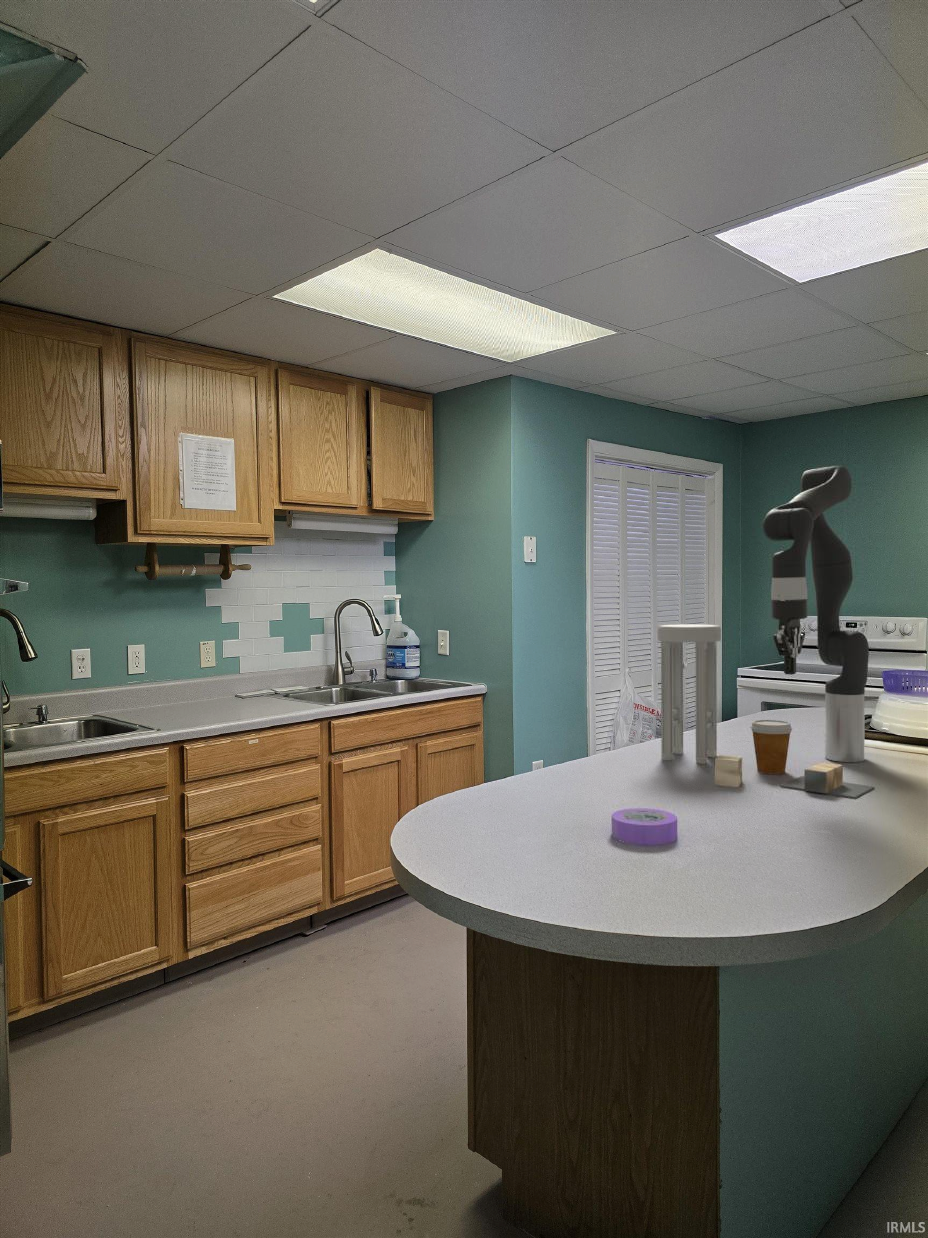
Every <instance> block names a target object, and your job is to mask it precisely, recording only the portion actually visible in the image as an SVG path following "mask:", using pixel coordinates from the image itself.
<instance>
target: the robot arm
mask: <svg viewBox="0 0 928 1238" xmlns="http://www.w3.org/2000/svg"><path fill="white" fill-rule="evenodd" d="M800 479H801V480H800V488H801V489H800V490H801V492H800V493H798V494H796V495H795V496H794V497H793V498H792V499H791V500H790V501H788V502H787V503H785V504H781V505H779V506H777V507H774V508H772V509H771V510H770V511H768V512H767V514H766V515H765V516H764V519H763V520H762V521H763V522H762V531H763V534H764V535H765V537H766V538H767V539H769V540H771V541H774V542H786V541H793V543H792V545H791V547H790V548H788V549H786V550H782V551H781V550H780V551H778V552H775V553H774V554H773V555H772V558H771V567H772V568H771V571H772V572H771V573H772V574H771V575H772V580H771V581H772V582H771V589H770V593H771V618H772V619H773V620H778V625H777V634H773V641H774V644H775V646H776V649H777V652H778V655H779V656H781V657H782V658H783V673H784V674H785V675H790V676H791V675H792V676H793V675H795V674H797V657H798V656H799V655H800V654H801V652H802V650H803V649H802V648H803V645H804V641H805V637H806V631H803V630H802V627H801V626H802V624H801V620H804V619H806V618H808V585H807V577H806V573H807V572H806V570H807V569H806V568H807V567H806V565H807V564H806V560H807V553H808V549H809V545H810V554H811V555H810V556H811V568H812V569H811V570H812V577H813V583H814V590H815V591H814V592H815V600H816V616H817V617H816V618H817V620H816V622H817V623H816V624H817V625H816V627H817V628H816V629H817V630H816V632H817V634H816V635H817V651H818V655H819V658H820V660H821V662H823V663H824V664H825V665H827V666H833V667H841V668H842V669H841V674H840V675H839V676H837V677H836V678H833V679H829V680H827V681H826V682H825V685H824V686H825V688H824V689H825V690H824V691H825V693H824V694H825V695H824V697H825V699H824V700H825V701H824V703H825V705H824V706H825V707H824V708H825V711H824V712H825V714H824V715H825V716H824V717H825V718H824V721H825V722H824V728H825V729H824V731H825V732H824V733H825V734H824V737H825V741H824V743H825V745H824V746H825V747H824V751H825V752H824V758H825V759H827V760H830V761H833V762H840V763H842V762H843V763H861V762H864V761H865V710H866V709H865V691H866V690H865V689H866V685H867V682H868V671H869V655H870V650H869V649H870V647H869V642H868V639H867V637H866V635H865V634H864V633H863V632H861V631H854V630H853V631H852V630H841V625H840V611H841V607H842V604H843V602H844V601H845V598H846V597H847V595H848V593H849V590H850V588H851V586H852V583H853V579H854V578H853V577H854V576H853V575H854V574H853V566H852V556H851V553H850V550H849V548H847V546H846V544H845V543H844V542H843V540H842V539H840V537H838V535H837V534H836V533H835V532H834V530H832V528H831V527H830V525H829V524H828V522H827V520H826V518H825V514H824V512H826V511H828V510H829V509H831V508H832V507H834V506H835V505H838V504H839V503H842V502H844V501H846V500H847V499H848V498H849V497H850V495H851V492H852V488H853V487H852V486H853V484H852V477H851V474H850V472H849V470H848V468H846V467H845V466H843V465H832V466H824V467H818V468H813V469H808V470H805V471H804V472H803V474H802V475H801V478H800Z"/></svg>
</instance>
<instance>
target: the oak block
mask: <svg viewBox="0 0 928 1238" xmlns="http://www.w3.org/2000/svg"><path fill="white" fill-rule="evenodd" d="M843 766H844V765H843V764H841V763H840V764H838V763H831V762H824V761H821V762H819V763H817V764H814V765H812V766H809V767H807V768H805V769H803V770H804V771H803V772H804V775H803V776H804V790H809V791H808V792H810V791H815V792H814V793H816V792H821V793H820V794H822V793H827V792H829V791H831V790H833V789H835V788H837V787H839V786H841V785H843V782H844V780H843V779H844V778H843V777H844V776H843V775H844V773H843V772H844V767H843ZM804 790H803V791H804Z"/></svg>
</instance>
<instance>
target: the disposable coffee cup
mask: <svg viewBox="0 0 928 1238" xmlns="http://www.w3.org/2000/svg"><path fill="white" fill-rule="evenodd" d="M751 722H752V723H751V726H750V729H751V732H752V737H753V745H754V752H755V761H756V770H757V772H759V773H761V774H766V775H781V774H786V769H787V768H786V766H787V760H788V759H787V758H788V754H789V753H788V751H789V745H790V738H791V733H792V730H793V728H792V726H791V722H788V721H785V720H778V719H756V720H753V721H751Z"/></svg>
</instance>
